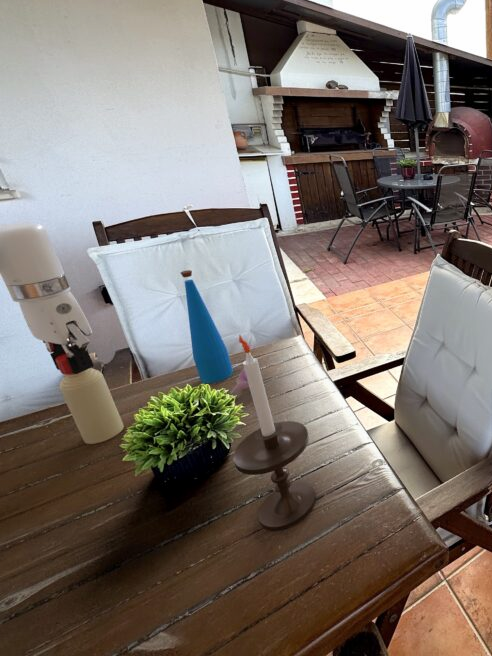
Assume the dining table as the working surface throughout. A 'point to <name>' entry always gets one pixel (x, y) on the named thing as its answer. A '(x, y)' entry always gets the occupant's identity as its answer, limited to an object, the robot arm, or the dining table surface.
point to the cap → (63, 364)
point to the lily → (241, 381)
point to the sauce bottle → (91, 405)
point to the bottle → (205, 338)
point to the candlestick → (274, 457)
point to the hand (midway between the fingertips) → (75, 367)
